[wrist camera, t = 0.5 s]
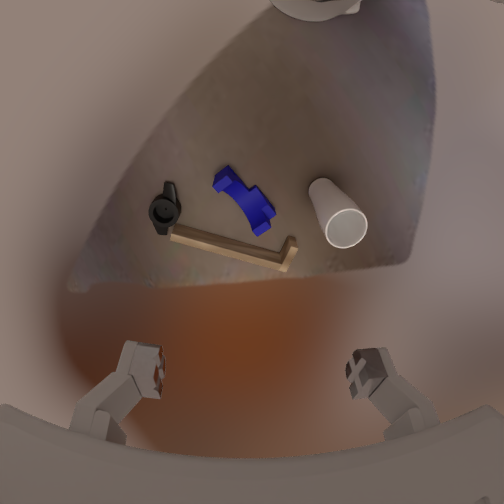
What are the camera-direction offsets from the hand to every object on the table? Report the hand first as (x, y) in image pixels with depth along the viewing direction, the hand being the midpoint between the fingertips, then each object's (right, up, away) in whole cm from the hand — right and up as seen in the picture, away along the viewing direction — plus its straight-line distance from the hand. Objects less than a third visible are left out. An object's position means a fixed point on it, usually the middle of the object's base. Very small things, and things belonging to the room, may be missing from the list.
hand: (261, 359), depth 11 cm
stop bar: (-4, +8, +45) cm, 46 cm away
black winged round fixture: (-17, +13, +41) cm, 46 cm away
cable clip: (-2, +16, +40) cm, 43 cm away
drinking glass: (+13, +16, +40) cm, 45 cm away
